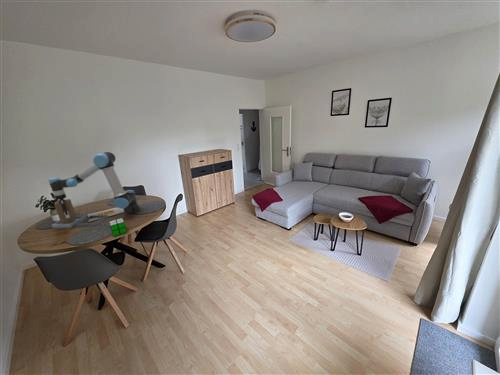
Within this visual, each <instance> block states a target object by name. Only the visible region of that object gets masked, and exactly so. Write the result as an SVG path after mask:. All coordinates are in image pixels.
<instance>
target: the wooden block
mask: <svg viewBox="0 0 500 375" xmlns="http://www.w3.org/2000/svg"><path fill="white" fill-rule="evenodd" d="M71 200H72V199H70V198H68V199H66V198H65V202H64V203H65V206H66V208H67V211H68V213H69V216H70V218H66V217H65V214H64V212H63V208H62V206H61V203H60V202H59V200H56V202H55V203H54V205H53V206H54V208H55V211H56V213H57V216H58V218H59V221H61V224H64V223H68V222H73V221H75V220H76V218H77V217H76V216H77V215H76V214H77V213H76V210H75V208H74V206H73V204H72V201H71Z"/></svg>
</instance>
